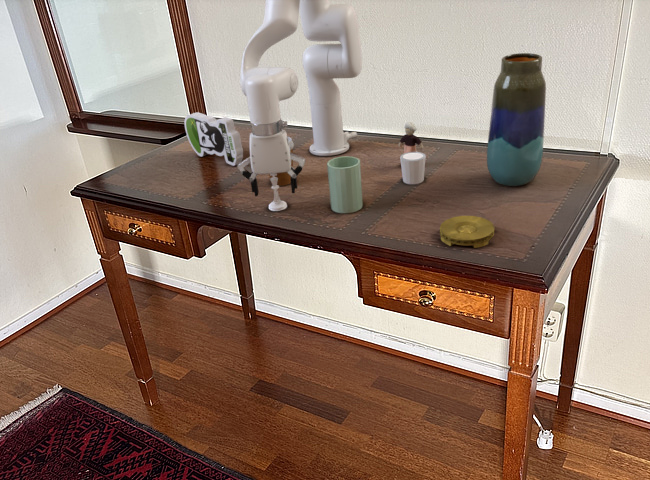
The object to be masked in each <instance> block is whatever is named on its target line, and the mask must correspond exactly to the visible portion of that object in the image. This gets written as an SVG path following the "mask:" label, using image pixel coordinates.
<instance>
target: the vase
mask: <svg viewBox="0 0 650 480" xmlns="http://www.w3.org/2000/svg"><path fill="white" fill-rule="evenodd" d="M542 67H543V56H542V55H540V54H538V53H530V52H529V53H528V52H521V53H520V52H519V53H512V54H508V55H505V56H503V57H502V58H501V62H500V71H499V74H498V76H497V78H496V80H495V82H494V85H493V92H492V99H491V100H492V101H491V109H490V118H489V128H488V137H487V148H486V166H487V171H488V173H489V175H490V176H491V178H492V179H493V180H494V182H495V183H498V184H500V185H502V186H506V187H507V186H508V187H520V186H525V185H526V184H528V183H530V182H532V181H533V180H534V179H535V177H536V176H537V175H538V173H539V172H540V169H541V167H542V162H543V157H544V156H543V154H544V145H545V144H544V143H545V142H544V141H545V122H546V121H545V120H546V101H547V99H546V98H547V96H546V95H547V82H546V79H545V76H544V73H543V71H542V70H543V69H542Z"/></svg>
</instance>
